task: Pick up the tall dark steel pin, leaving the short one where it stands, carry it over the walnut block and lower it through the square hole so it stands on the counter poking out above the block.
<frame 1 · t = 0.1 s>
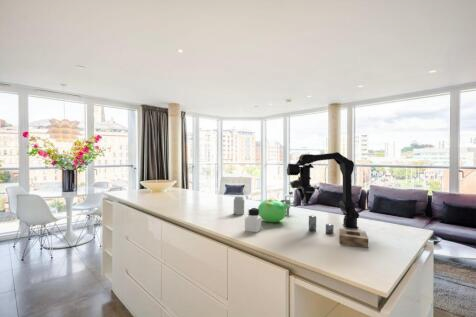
hand: (304, 202, 141), 15 cm above the worktop, tool pointing down, fingers open, 9 cm apart
short pin: (329, 233, 130), on the worktop
green rounded lump: (272, 222, 151), on the worktop
tall pin: (312, 230, 134), on the worktop
hole block: (352, 241, 118), on the worktop
mechanical component: (287, 214, 172), on the worktop
medicine bottle: (253, 230, 133), on the worktop
can: (238, 214, 170), on the worktop
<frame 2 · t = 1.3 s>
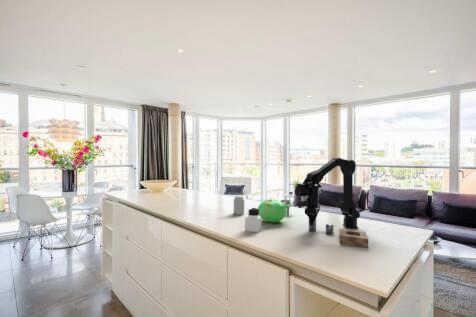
hand: (312, 223, 134), 4 cm above the worktop, tool pointing down, fingers open, 9 cm apart
nothing on the worktop moved.
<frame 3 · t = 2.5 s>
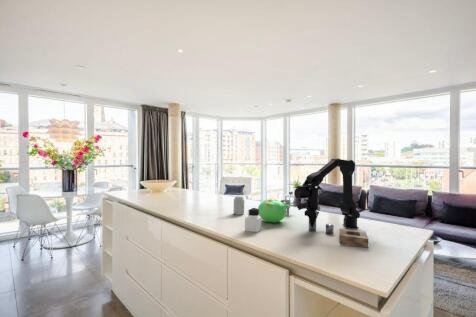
hand: (312, 225, 134), 3 cm above the worktop, tool pointing down, fingers closed on tall pin, 4 cm apart
tall pin: (312, 230, 134), on the worktop, touching gripper
everything else where it was.
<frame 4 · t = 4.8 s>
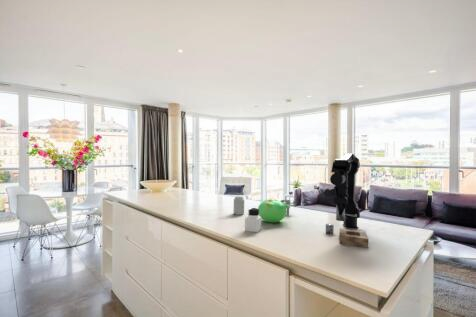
hand: (340, 214, 122), 12 cm above the worktop, tool pointing down, fingers closed on tall pin, 4 cm apart
tall pin: (340, 220, 122), point 9 cm above the worktop, touching gripper
everything else where it was.
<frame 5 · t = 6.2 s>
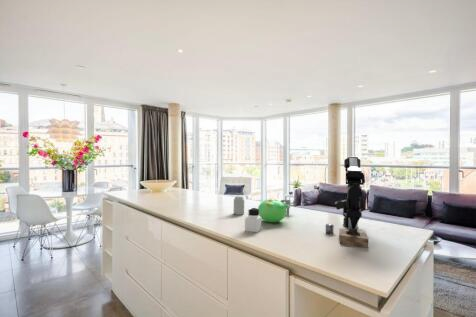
hand: (353, 227, 118), 7 cm above the worktop, tool pointing down, fingers closed on tall pin, 4 cm apart
tall pin: (352, 233, 118), point 4 cm above the worktop, touching gripper
everything else where it was.
when the fingers open (5 cm above the worktop, at t = 7.3 s): tall pin drops 2 cm, resting in hole block.
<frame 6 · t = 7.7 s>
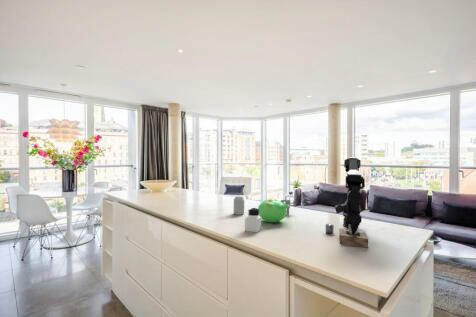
hand: (353, 231, 118), 5 cm above the worktop, tool pointing down, fingers open, 9 cm apart
tall pin: (352, 241, 118), resting in hole block
everything else where it was.
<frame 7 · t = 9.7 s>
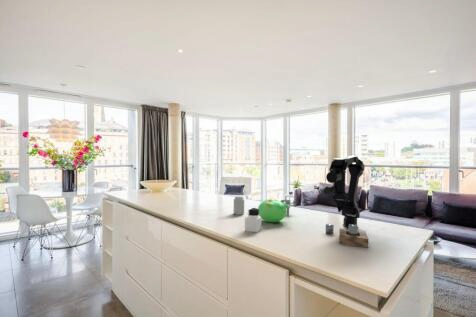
hand: (339, 210, 131), 12 cm above the worktop, tool pointing down, fingers open, 9 cm apart
nothing on the worktop moved.
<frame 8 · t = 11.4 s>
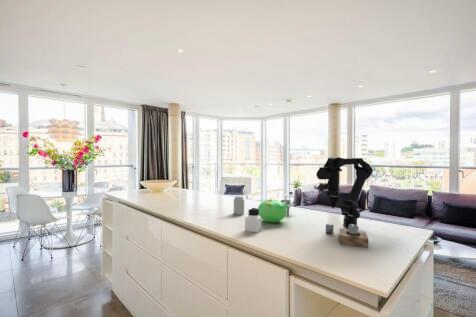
hand: (333, 206, 137), 13 cm above the worktop, tool pointing down, fingers open, 9 cm apart
nothing on the worktop moved.
at the end: tall pin 0.1 cm off-centre on the hole block, point 0.0 cm above the hole block's base; tall pin tilted 0°; short pin moved 0.1 cm from its start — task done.
